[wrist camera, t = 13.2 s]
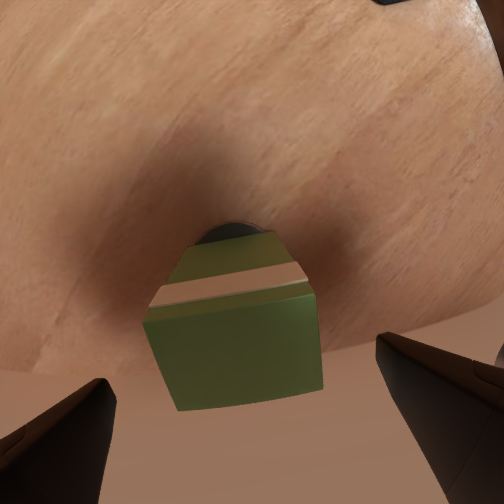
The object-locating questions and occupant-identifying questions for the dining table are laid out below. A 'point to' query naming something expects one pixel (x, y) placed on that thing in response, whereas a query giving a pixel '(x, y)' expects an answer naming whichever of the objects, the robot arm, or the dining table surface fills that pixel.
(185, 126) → the dining table surface
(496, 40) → the walnut stand
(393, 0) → the smartphone
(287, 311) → the packet
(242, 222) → the coaster
